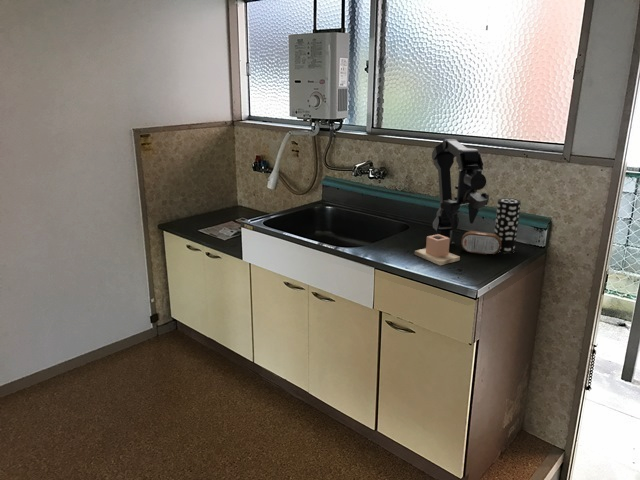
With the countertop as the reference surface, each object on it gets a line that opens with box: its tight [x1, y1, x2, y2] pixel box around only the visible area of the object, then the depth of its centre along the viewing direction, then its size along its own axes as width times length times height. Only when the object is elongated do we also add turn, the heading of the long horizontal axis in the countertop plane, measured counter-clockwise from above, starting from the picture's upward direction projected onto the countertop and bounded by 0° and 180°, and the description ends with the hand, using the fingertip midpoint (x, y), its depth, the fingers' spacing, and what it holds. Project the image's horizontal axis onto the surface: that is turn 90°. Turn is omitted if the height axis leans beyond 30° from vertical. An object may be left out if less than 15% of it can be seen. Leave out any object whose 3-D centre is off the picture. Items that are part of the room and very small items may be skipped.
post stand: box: [414, 236, 461, 266], centre depth 197 cm, size 10×14×9 cm
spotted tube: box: [493, 197, 522, 253], centre depth 204 cm, size 8×8×20 cm
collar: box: [425, 234, 450, 257], centre depth 197 cm, size 6×6×6 cm
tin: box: [460, 230, 501, 255], centre depth 202 cm, size 15×3×8 cm, turn 70°
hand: (462, 225), depth 194 cm, fingers open, 9 cm apart
